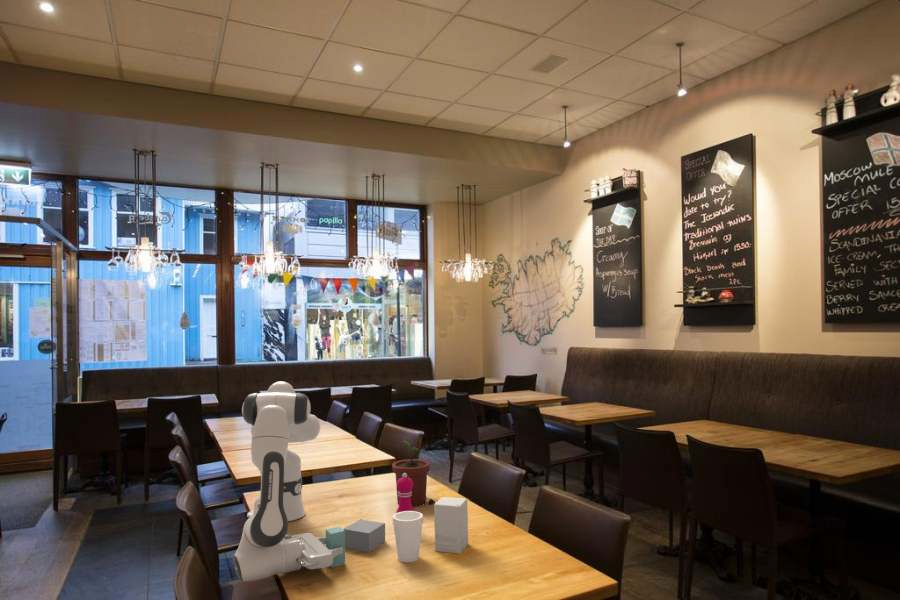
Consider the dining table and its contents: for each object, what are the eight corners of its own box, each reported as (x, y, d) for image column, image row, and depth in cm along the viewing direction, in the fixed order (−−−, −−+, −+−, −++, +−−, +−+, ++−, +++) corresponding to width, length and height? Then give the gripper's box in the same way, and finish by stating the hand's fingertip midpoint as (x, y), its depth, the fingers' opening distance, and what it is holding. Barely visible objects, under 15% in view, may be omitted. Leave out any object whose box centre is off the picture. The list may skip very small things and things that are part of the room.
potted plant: (381, 503, 231) (381, 441, 232) (419, 491, 247) (418, 433, 248) (411, 512, 219) (410, 447, 220) (448, 498, 235) (448, 438, 236)
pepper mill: (412, 534, 195) (411, 476, 196) (392, 532, 197) (392, 475, 198) (417, 526, 202) (417, 470, 203) (398, 525, 204) (398, 470, 205)
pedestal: (343, 547, 184) (343, 528, 185) (360, 536, 193) (360, 519, 194) (368, 552, 180) (368, 533, 180) (385, 541, 189) (385, 523, 189)
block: (331, 567, 169) (330, 533, 170) (325, 562, 173) (325, 529, 173) (345, 563, 172) (344, 530, 172) (339, 558, 175) (339, 526, 176)
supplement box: (469, 543, 186) (468, 498, 187) (460, 554, 177) (460, 506, 178) (443, 540, 189) (442, 495, 190) (434, 551, 180) (433, 503, 181)
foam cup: (411, 566, 169) (410, 523, 169) (387, 560, 174) (386, 517, 174) (429, 555, 177) (428, 513, 177) (405, 549, 182) (405, 509, 182)
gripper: (303, 556, 157) (349, 545, 164) (282, 533, 174) (325, 524, 181) (303, 579, 157) (349, 567, 164) (282, 554, 174) (325, 544, 181)
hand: (336, 544), depth 173 cm, fingers open, 8 cm apart
